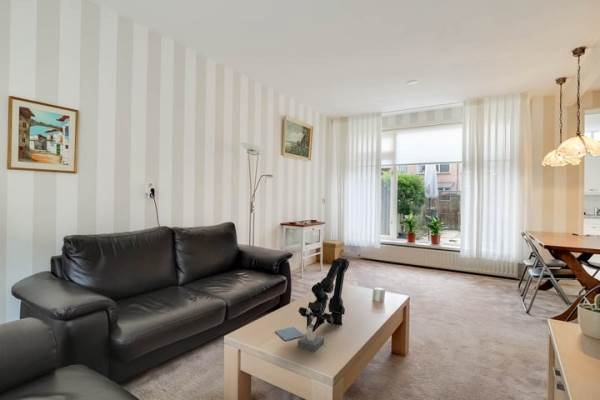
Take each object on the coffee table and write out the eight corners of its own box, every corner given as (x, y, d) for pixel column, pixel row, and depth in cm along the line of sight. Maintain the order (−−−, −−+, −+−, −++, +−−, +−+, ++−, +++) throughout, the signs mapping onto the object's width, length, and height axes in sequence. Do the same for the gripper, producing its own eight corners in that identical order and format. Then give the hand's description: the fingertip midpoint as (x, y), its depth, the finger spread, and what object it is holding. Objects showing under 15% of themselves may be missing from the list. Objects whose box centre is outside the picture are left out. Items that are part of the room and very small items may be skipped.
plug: (309, 340, 157) (310, 323, 156) (314, 342, 155) (315, 325, 155) (306, 343, 154) (307, 325, 154) (312, 344, 152) (312, 327, 152)
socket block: (307, 338, 161) (307, 333, 161) (323, 343, 156) (323, 338, 156) (297, 346, 153) (297, 340, 153) (314, 352, 148) (315, 346, 148)
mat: (293, 327, 174) (293, 326, 174) (304, 336, 164) (304, 335, 164) (275, 332, 168) (275, 331, 168) (285, 341, 158) (285, 340, 158)
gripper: (300, 292, 162) (288, 319, 153) (332, 298, 153) (321, 328, 143) (307, 302, 169) (296, 328, 160) (337, 309, 160) (328, 338, 150)
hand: (310, 330), depth 153 cm, fingers closed on plug, 3 cm apart
